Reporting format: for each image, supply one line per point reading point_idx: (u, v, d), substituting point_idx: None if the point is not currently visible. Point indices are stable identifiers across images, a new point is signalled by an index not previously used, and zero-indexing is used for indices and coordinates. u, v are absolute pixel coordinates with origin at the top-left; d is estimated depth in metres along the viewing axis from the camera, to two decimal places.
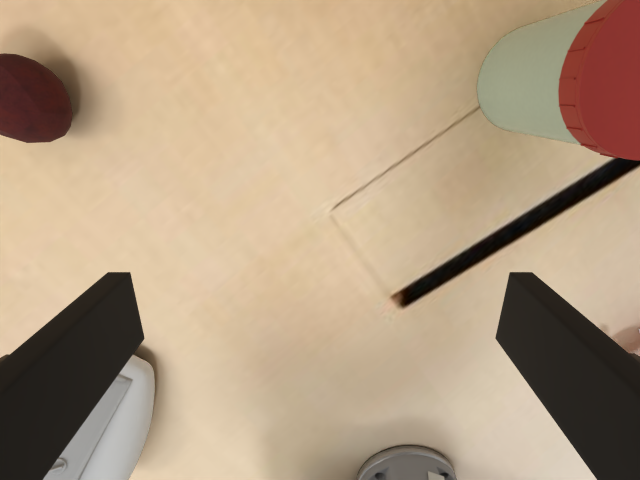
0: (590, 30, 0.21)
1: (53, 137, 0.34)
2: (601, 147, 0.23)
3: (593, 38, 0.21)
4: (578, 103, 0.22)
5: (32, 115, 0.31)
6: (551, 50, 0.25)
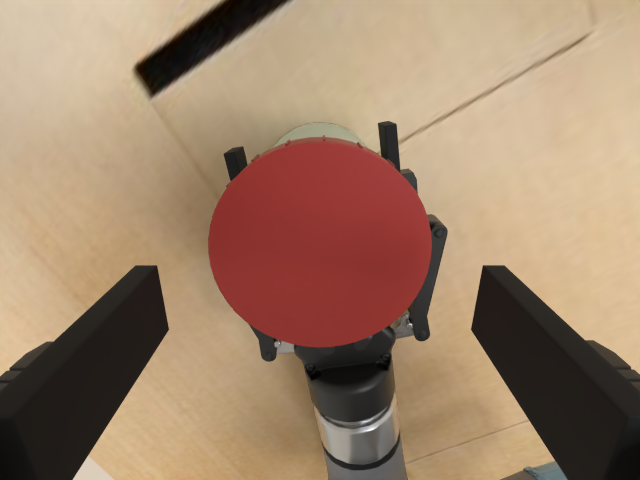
0: None
1: None
2: (394, 168, 0.15)
3: None
4: None
5: None
6: None
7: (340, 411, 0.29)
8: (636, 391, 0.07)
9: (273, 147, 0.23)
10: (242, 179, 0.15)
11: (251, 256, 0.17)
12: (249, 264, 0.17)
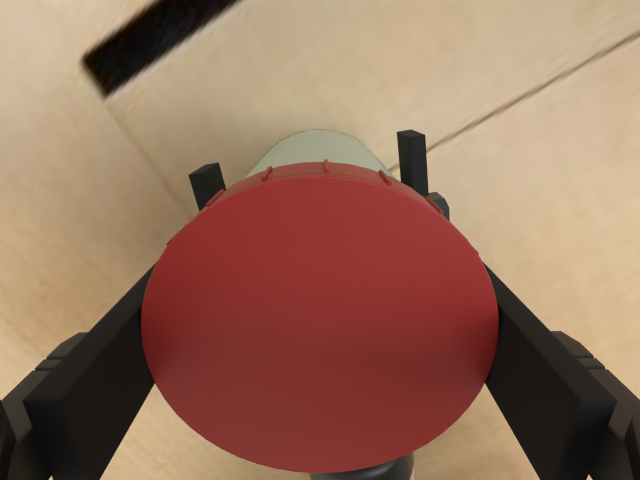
0: None
1: None
2: (444, 218, 0.09)
3: None
4: None
5: None
6: None
7: None
8: (591, 376, 0.08)
9: (256, 166, 0.17)
10: (189, 236, 0.09)
11: (210, 352, 0.11)
12: (208, 362, 0.11)
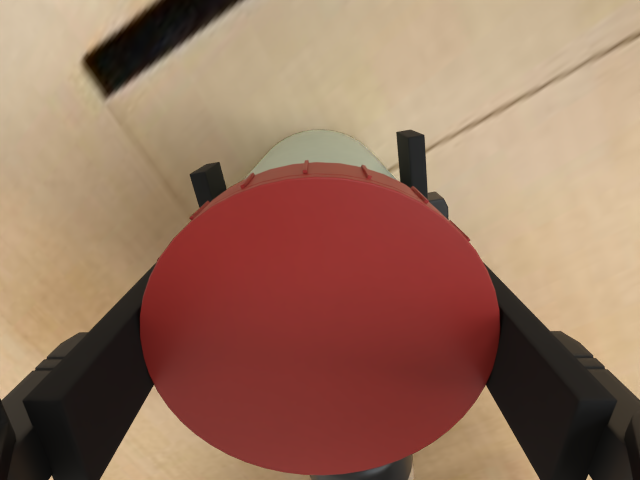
0: (448, 220, 0.10)
1: None
2: (188, 224, 0.09)
3: None
4: (311, 177, 0.09)
5: None
6: None
7: None
8: (591, 376, 0.08)
9: (257, 165, 0.17)
10: (186, 418, 0.11)
11: (300, 432, 0.12)
12: (311, 436, 0.12)
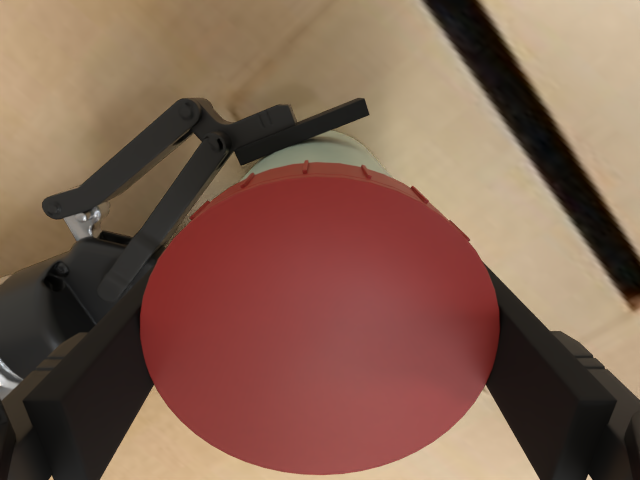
0: (448, 220, 0.10)
1: None
2: (188, 224, 0.09)
3: None
4: (311, 177, 0.09)
5: None
6: None
7: (12, 341, 0.19)
8: (591, 376, 0.08)
9: (381, 165, 0.18)
10: (186, 417, 0.11)
11: (300, 432, 0.12)
12: (311, 436, 0.12)
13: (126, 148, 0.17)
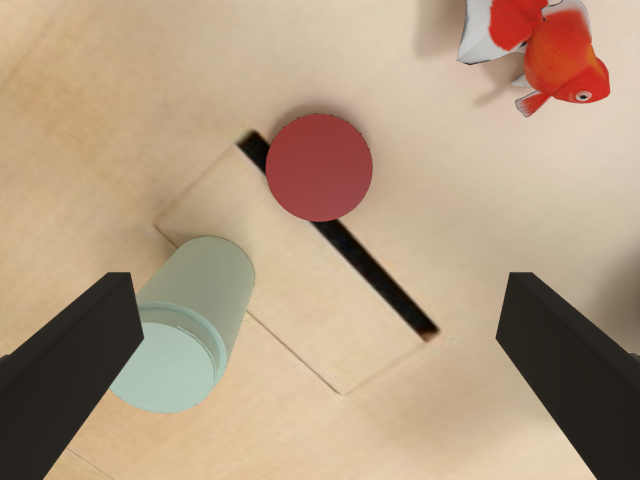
0: None
1: None
2: (283, 128, 0.34)
3: None
4: (316, 115, 0.33)
5: None
6: None
7: None
8: None
9: (220, 275, 0.34)
10: (276, 196, 0.36)
11: (312, 202, 0.36)
12: (316, 204, 0.36)
13: None
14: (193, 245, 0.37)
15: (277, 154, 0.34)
